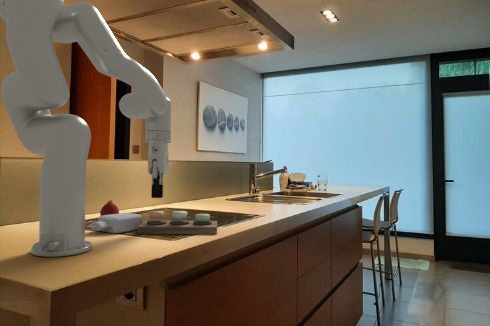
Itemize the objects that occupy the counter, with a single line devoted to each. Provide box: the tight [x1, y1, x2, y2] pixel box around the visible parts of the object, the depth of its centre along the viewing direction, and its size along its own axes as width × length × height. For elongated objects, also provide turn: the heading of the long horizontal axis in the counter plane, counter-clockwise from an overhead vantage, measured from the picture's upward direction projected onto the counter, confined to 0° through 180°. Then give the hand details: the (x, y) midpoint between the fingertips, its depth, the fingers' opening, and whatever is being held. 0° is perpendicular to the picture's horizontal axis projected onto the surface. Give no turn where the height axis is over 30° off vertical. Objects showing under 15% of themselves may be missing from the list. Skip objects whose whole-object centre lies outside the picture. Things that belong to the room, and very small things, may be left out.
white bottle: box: [86, 212, 143, 234], centre depth 109 cm, size 5×9×15 cm
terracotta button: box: [148, 210, 165, 220], centre depth 112 cm, size 4×4×2 cm
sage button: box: [194, 213, 211, 222], centre depth 113 cm, size 4×4×2 cm
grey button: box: [171, 210, 188, 220], centre depth 112 cm, size 4×4×2 cm
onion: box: [99, 199, 120, 217], centre depth 121 cm, size 6×6×8 cm
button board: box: [136, 219, 218, 235], centre depth 112 cm, size 12×23×3 cm, turn 94°
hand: (157, 197), depth 112 cm, fingers closed
